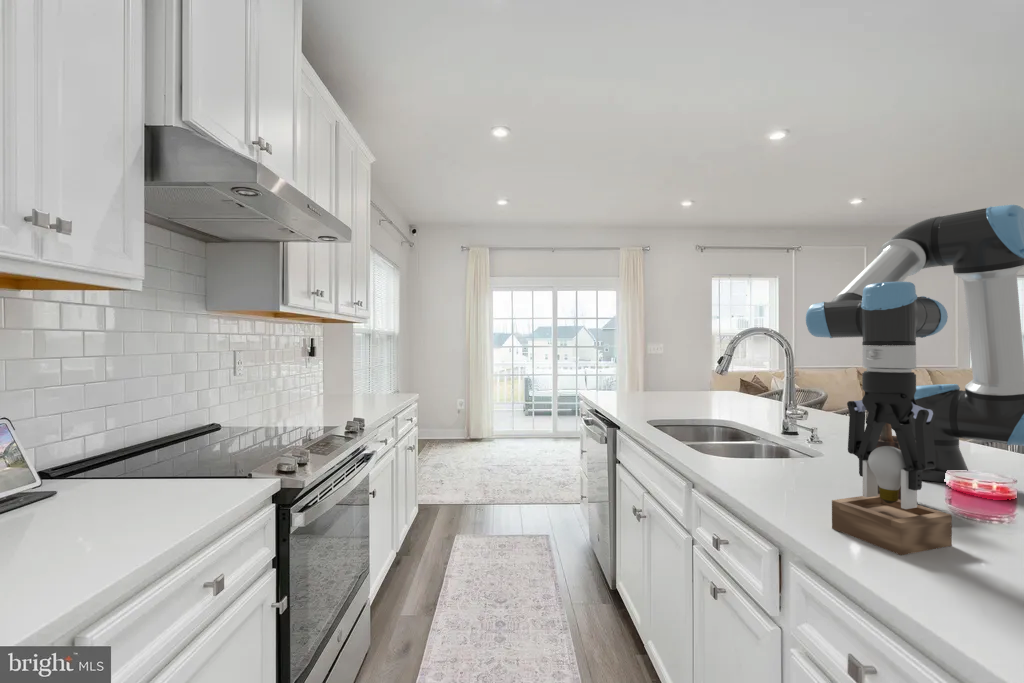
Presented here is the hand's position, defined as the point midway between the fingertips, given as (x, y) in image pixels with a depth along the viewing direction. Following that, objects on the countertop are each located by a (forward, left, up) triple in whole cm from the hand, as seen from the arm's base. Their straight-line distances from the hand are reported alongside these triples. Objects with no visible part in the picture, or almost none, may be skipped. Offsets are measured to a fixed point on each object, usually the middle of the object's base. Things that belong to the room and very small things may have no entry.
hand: (888, 501), depth 86 cm
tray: (0, 0, -6) cm, 6 cm away
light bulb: (0, 0, 0) cm, 0 cm away
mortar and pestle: (-21, -14, -6) cm, 26 cm away
